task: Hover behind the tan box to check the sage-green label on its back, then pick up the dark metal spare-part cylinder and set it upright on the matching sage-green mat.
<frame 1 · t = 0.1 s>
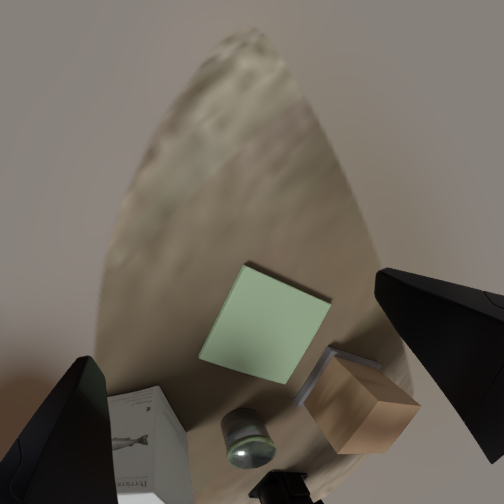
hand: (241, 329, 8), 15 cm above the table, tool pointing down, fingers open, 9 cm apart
sage mat: (265, 329, 25), on the table
tan box: (338, 381, 28), on the table
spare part: (241, 423, 27), on the table
supplement box: (141, 415, 24), on the table
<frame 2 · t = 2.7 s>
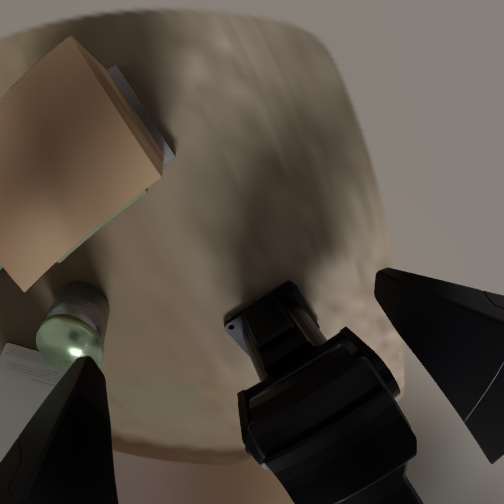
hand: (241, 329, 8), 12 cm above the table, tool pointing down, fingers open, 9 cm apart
tan box: (92, 149, 15), on the table
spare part: (82, 306, 19), on the table
supplement box: (44, 375, 20), on the table
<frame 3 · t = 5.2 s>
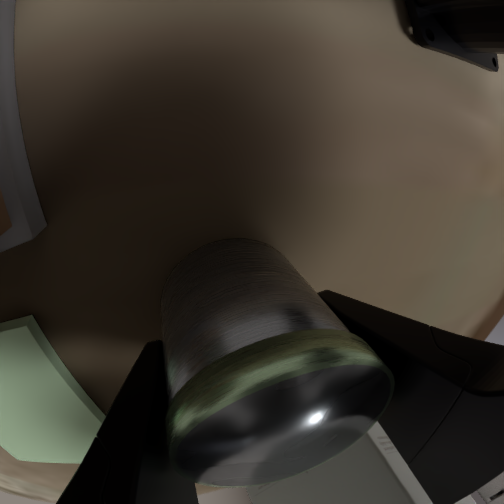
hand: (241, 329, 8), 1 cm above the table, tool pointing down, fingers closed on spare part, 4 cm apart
sage mat: (19, 408, 8), on the table
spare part: (231, 305, 9), on the table, touching gripper
supplement box: (316, 420, 14), on the table
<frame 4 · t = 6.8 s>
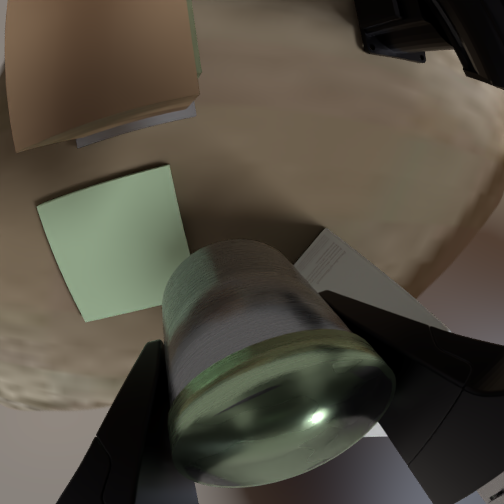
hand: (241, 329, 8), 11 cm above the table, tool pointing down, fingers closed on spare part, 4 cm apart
sage mat: (119, 249, 17), on the table
tan box: (126, 67, 13), on the table
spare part: (233, 305, 9), point 10 cm above the table, touching gripper
supplement box: (321, 283, 23), on the table
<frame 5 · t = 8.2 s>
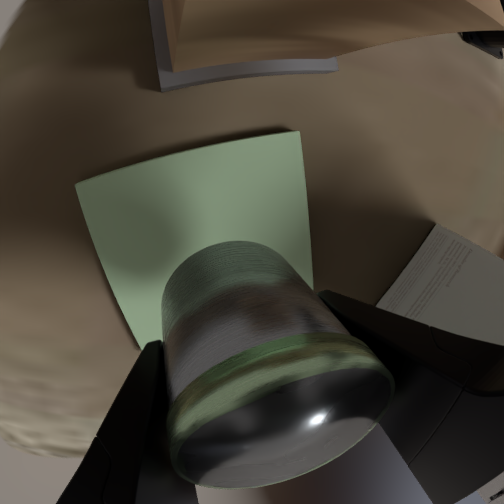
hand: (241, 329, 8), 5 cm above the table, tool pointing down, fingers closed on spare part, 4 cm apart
sage mat: (209, 253, 13), on the table
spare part: (232, 306, 9), point 4 cm above the table, touching gripper
supplement box: (421, 285, 19), on the table
when the fingers open (3 cm above the table, at t = 8.9 s): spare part drops 1 cm, resting on sage mat.
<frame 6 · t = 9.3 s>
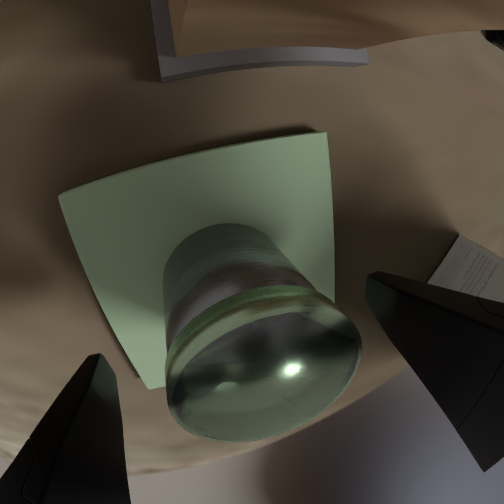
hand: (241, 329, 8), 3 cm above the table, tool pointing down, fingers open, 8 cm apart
sage mat: (218, 274, 11), on the table
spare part: (225, 282, 10), point 1 cm above the table, touching sage mat
supplement box: (440, 299, 17), on the table
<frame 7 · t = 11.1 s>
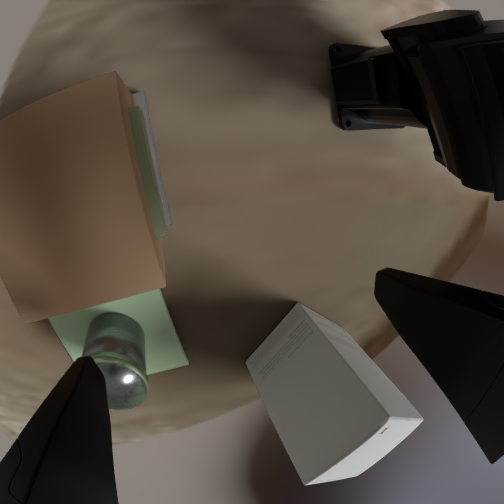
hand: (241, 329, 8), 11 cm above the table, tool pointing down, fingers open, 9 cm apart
sage mat: (115, 331, 19), on the table
tan box: (101, 173, 15), on the table
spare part: (116, 336, 19), point 1 cm above the table, touching sage mat
supplement box: (296, 344, 25), on the table
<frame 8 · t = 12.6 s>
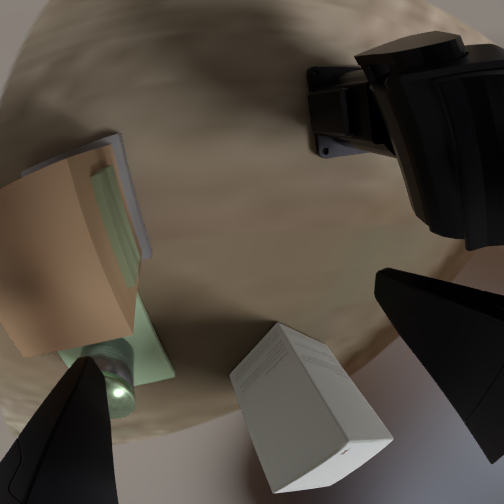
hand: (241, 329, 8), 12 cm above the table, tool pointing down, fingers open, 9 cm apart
sage mat: (107, 347, 21), on the table
tan box: (86, 210, 16), on the table
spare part: (108, 352, 20), point 1 cm above the table, touching sage mat
supplement box: (278, 358, 27), on the table
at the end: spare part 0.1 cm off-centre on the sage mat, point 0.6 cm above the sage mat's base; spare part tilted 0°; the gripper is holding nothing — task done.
